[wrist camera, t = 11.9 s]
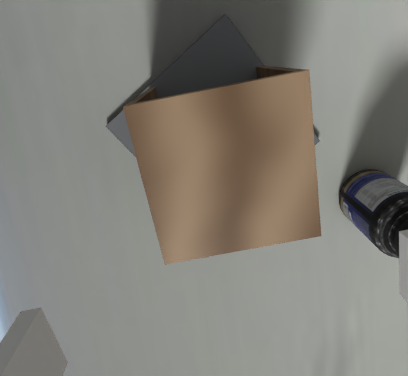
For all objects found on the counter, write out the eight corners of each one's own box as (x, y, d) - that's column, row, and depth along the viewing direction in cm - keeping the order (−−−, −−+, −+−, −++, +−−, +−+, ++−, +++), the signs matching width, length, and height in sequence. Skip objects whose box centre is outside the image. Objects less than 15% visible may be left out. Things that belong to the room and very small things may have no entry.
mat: (107, 125, 34) (105, 126, 33) (224, 14, 30) (225, 13, 30) (206, 227, 38) (206, 229, 37) (317, 139, 35) (319, 140, 34)
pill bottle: (383, 222, 38) (453, 281, 28) (330, 217, 38) (383, 276, 28) (400, 170, 36) (483, 214, 26) (344, 165, 36) (407, 207, 26)
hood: (173, 192, 36) (164, 264, 23) (149, 88, 32) (122, 106, 19) (275, 173, 35) (321, 235, 23) (262, 65, 32) (309, 69, 19)
